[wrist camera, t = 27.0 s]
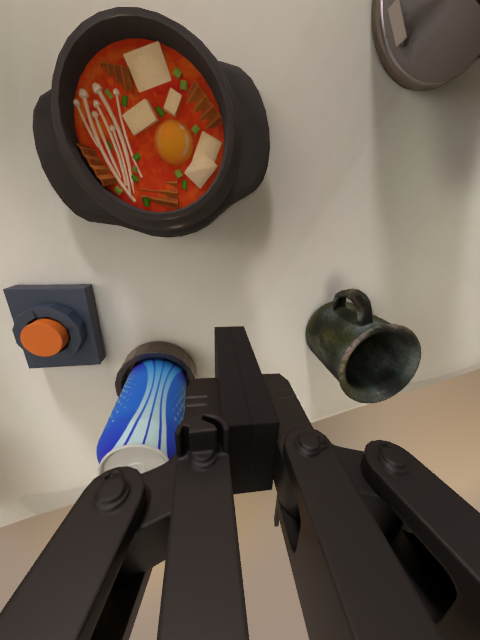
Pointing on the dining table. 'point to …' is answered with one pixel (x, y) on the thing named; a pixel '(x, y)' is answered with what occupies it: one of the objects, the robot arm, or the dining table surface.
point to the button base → (65, 307)
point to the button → (44, 337)
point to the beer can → (145, 417)
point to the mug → (363, 348)
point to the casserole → (149, 126)
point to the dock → (154, 351)
